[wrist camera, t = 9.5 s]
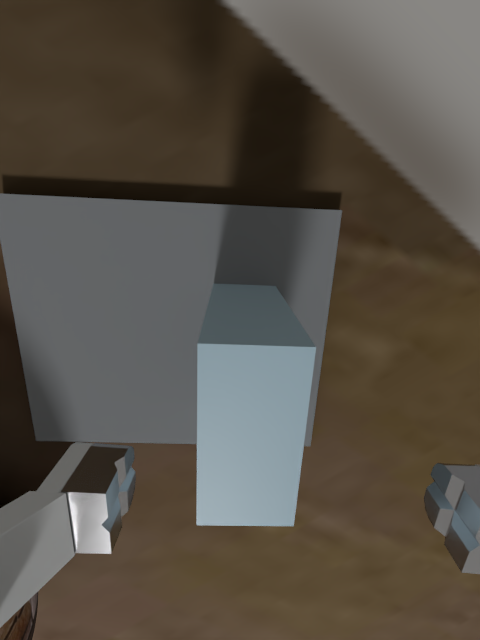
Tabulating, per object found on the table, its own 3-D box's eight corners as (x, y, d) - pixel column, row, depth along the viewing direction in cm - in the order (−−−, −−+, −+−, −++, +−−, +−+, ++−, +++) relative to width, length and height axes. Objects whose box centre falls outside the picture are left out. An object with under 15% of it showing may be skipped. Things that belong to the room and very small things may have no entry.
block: (275, 285, 18) (316, 347, 9) (266, 395, 20) (293, 525, 12) (213, 283, 18) (197, 343, 9) (211, 393, 20) (196, 525, 11)
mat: (337, 210, 18) (341, 210, 17) (307, 438, 22) (310, 446, 21) (2, 194, 17) (-9, 193, 16) (43, 432, 21) (36, 440, 21)
